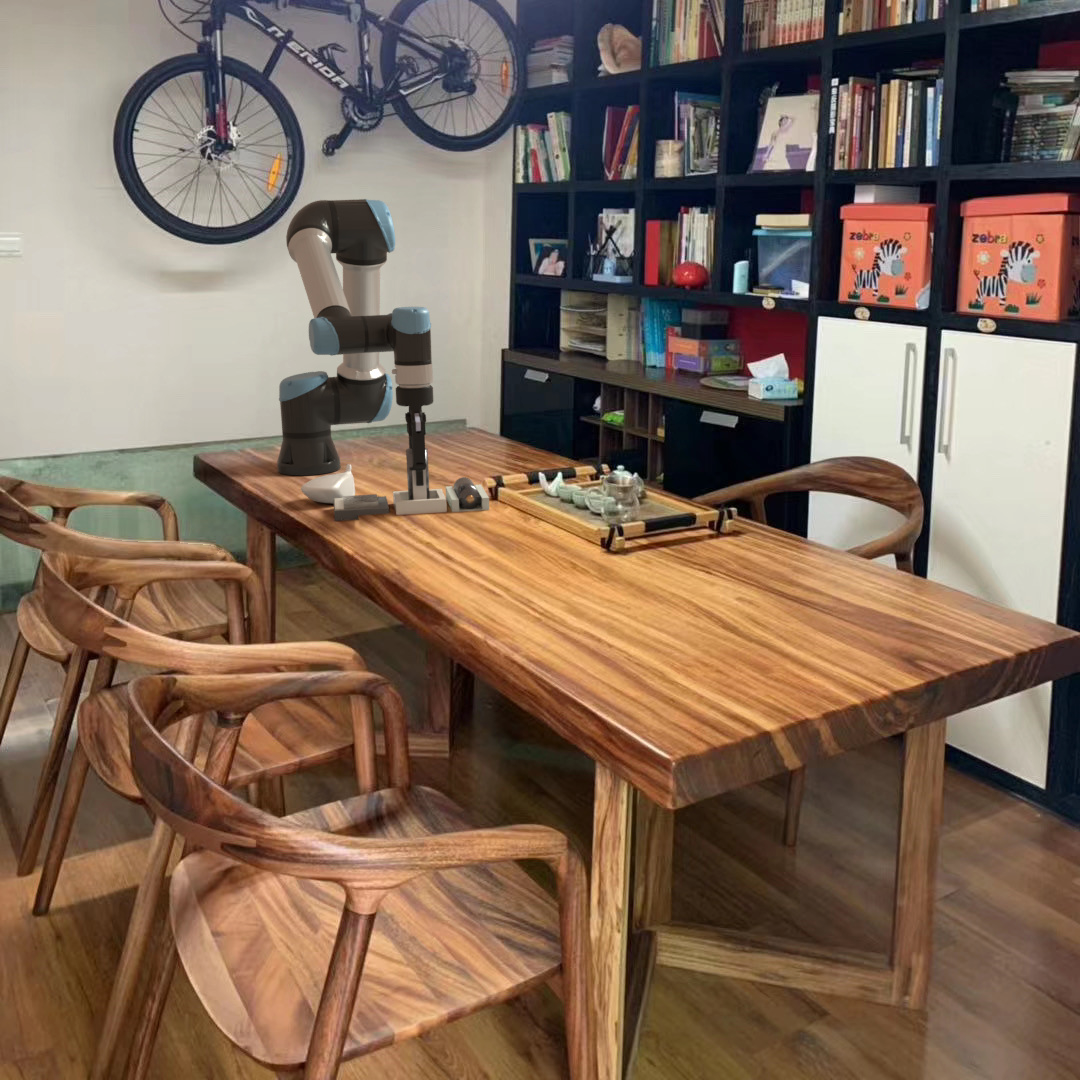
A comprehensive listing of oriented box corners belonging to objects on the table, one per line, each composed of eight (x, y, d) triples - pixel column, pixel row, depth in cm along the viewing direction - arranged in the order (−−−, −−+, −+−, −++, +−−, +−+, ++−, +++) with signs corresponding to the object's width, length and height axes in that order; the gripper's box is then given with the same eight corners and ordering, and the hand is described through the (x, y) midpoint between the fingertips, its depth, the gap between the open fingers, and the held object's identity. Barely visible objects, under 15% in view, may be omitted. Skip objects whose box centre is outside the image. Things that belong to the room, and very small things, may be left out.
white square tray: (393, 507, 253) (393, 491, 252) (442, 504, 255) (441, 488, 254) (396, 518, 243) (395, 502, 243) (446, 515, 245) (446, 499, 244)
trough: (446, 502, 257) (445, 486, 256) (481, 499, 259) (480, 484, 258) (452, 516, 245) (451, 499, 244) (489, 513, 246) (489, 497, 245)
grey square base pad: (334, 508, 253) (333, 497, 253) (386, 505, 255) (385, 494, 255) (334, 520, 243) (333, 509, 242) (389, 517, 245) (388, 506, 244)
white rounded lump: (368, 461, 262) (323, 447, 253) (365, 508, 259) (320, 495, 251) (338, 470, 269) (294, 457, 260) (335, 516, 266) (290, 504, 258)
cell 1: (407, 500, 250) (405, 444, 247) (429, 498, 251) (426, 443, 248) (409, 504, 246) (406, 447, 243) (430, 503, 247) (428, 446, 244)
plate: (343, 500, 251) (343, 496, 251) (376, 498, 252) (376, 494, 252) (343, 508, 245) (343, 503, 244) (378, 506, 246) (378, 501, 246)
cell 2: (453, 498, 256) (453, 477, 255) (474, 496, 257) (473, 476, 256) (460, 510, 245) (459, 489, 244) (481, 509, 246) (480, 488, 245)
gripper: (392, 380, 250) (398, 490, 256) (398, 391, 233) (403, 508, 239) (428, 378, 251) (433, 488, 257) (436, 389, 235) (441, 506, 241)
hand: (419, 497), depth 248 cm, fingers closed on cell 1, 4 cm apart
